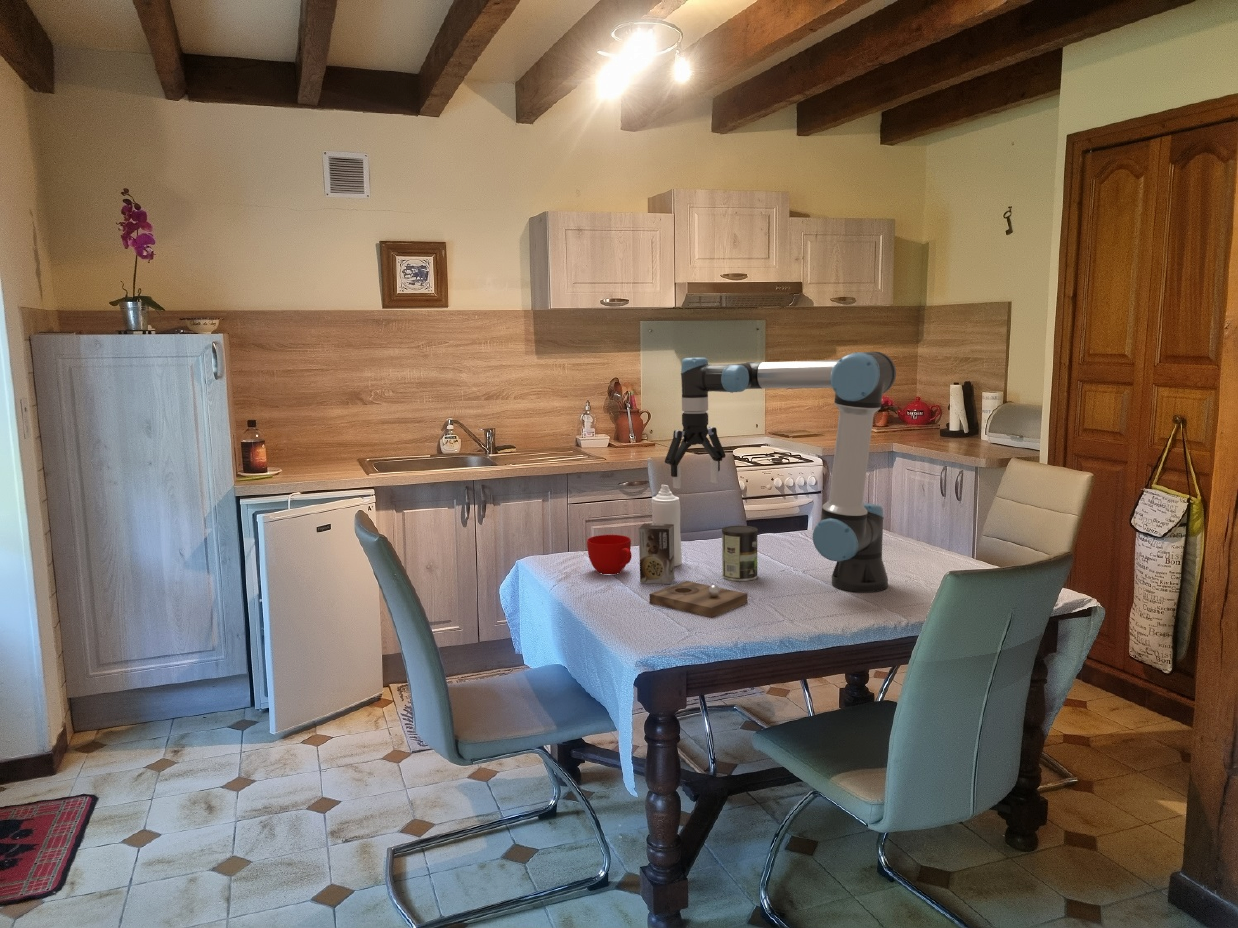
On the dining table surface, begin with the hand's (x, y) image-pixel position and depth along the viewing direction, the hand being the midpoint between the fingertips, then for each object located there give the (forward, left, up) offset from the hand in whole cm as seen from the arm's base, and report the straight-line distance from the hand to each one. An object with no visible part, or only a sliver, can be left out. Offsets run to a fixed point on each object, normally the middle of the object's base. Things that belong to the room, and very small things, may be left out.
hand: (695, 485), depth 271 cm
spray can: (+13, -3, -26) cm, 30 cm away
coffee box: (+4, +13, -26) cm, 30 cm away
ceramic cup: (+19, +15, -26) cm, 36 cm away
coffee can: (-12, -5, -26) cm, 29 cm away
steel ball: (-23, +23, -22) cm, 39 cm away
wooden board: (-18, +23, -26) cm, 39 cm away
